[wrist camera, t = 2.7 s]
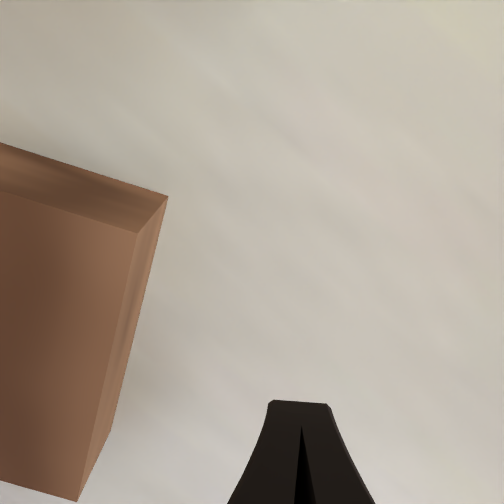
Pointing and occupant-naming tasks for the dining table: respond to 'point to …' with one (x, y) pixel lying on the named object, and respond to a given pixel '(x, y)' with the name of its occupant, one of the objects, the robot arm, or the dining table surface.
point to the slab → (66, 312)
